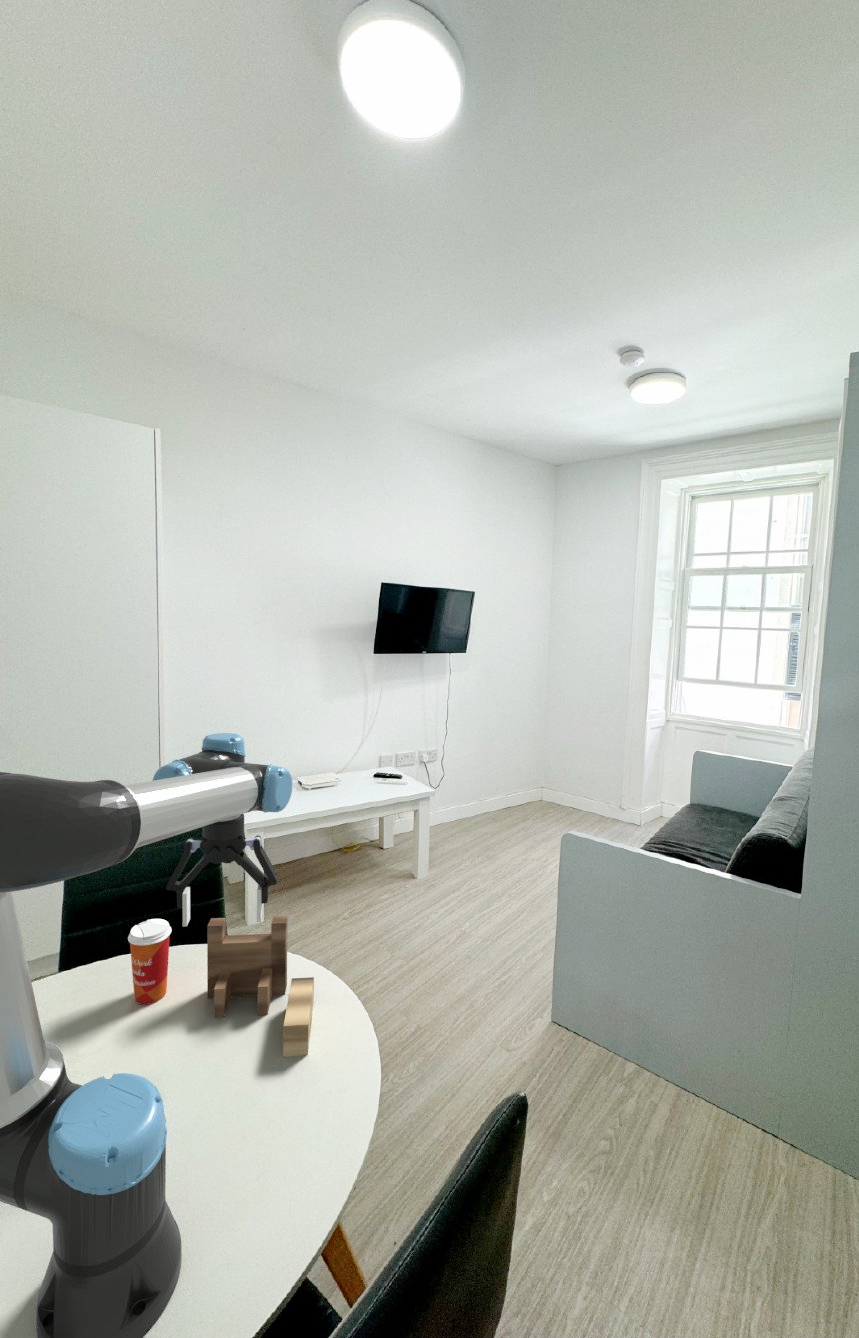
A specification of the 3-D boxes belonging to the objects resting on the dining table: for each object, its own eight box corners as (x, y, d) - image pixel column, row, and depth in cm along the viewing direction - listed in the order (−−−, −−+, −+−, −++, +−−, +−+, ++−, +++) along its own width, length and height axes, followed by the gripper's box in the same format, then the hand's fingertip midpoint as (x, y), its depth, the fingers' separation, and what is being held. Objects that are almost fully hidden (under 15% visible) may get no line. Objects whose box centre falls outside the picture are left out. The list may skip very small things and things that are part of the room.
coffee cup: (121, 997, 118) (119, 929, 117) (158, 977, 125) (158, 913, 124) (142, 1014, 114) (141, 943, 112) (180, 992, 120) (179, 925, 119)
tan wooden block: (307, 1054, 105) (308, 1024, 104) (283, 1056, 104) (283, 1026, 103) (313, 1004, 118) (313, 977, 118) (291, 1005, 118) (291, 978, 117)
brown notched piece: (281, 1013, 115) (282, 938, 114) (199, 1018, 113) (199, 942, 112) (286, 984, 124) (287, 915, 123) (211, 988, 122) (211, 918, 120)
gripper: (291, 806, 114) (290, 907, 115) (159, 809, 109) (160, 914, 111) (289, 819, 106) (287, 926, 108) (147, 823, 102) (148, 935, 104)
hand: (223, 920), depth 110 cm, fingers open, 13 cm apart
